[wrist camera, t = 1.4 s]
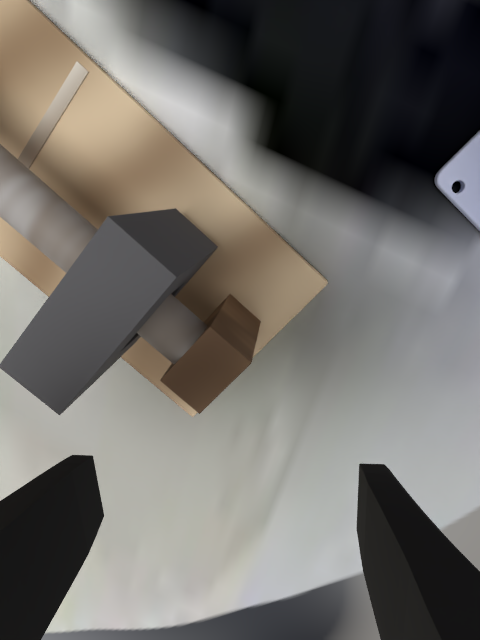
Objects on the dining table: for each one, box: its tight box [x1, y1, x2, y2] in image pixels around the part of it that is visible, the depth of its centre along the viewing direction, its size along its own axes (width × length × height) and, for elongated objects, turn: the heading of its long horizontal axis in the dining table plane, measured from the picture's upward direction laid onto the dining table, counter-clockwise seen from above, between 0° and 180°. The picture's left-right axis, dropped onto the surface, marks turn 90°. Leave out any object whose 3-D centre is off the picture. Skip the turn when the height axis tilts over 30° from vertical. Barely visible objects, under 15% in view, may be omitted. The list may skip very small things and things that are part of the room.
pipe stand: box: [0, 0, 328, 417], centre depth 16 cm, size 20×10×6 cm, turn 48°
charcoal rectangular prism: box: [0, 208, 218, 415], centre depth 15 cm, size 2×6×7 cm, turn 138°
